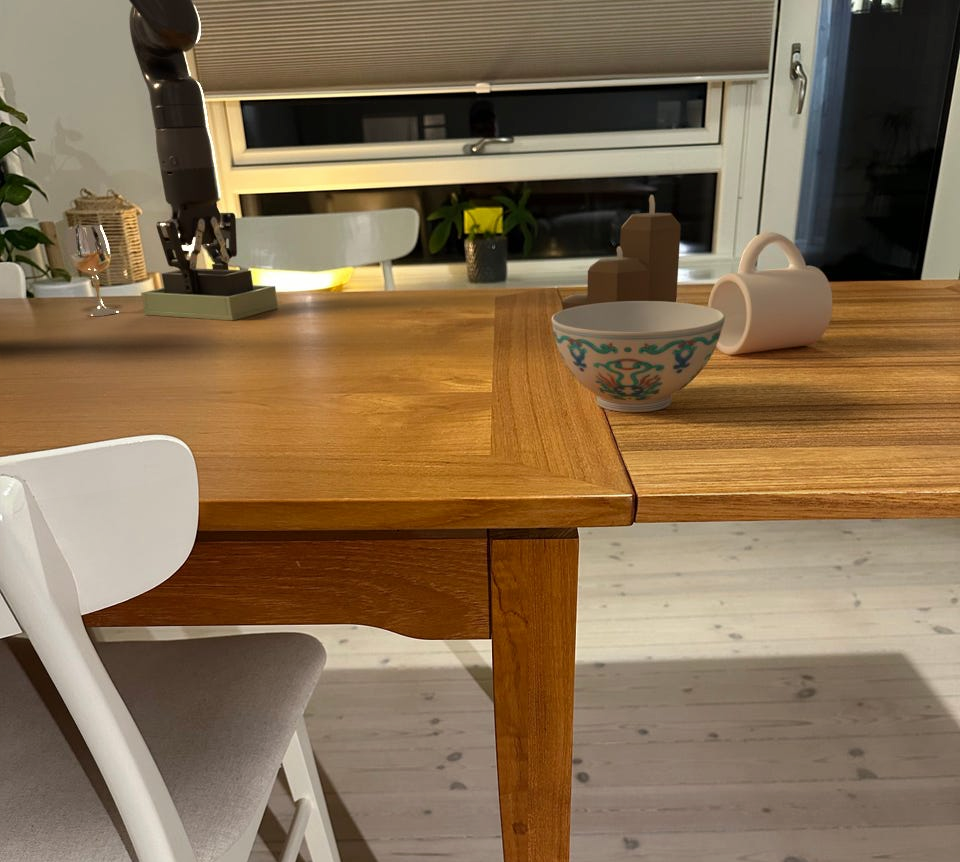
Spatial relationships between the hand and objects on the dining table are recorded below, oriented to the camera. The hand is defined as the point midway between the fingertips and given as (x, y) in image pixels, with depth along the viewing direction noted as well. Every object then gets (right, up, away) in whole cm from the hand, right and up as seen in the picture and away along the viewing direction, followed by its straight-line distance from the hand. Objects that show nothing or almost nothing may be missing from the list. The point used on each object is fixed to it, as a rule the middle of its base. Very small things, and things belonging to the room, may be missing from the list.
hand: (209, 293), depth 139 cm
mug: (+71, -19, -34) cm, 81 cm away
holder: (0, -2, +1) cm, 2 cm away
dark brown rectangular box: (0, -1, 0) cm, 0 cm away
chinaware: (+54, -29, -52) cm, 80 cm away
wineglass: (-17, -2, +3) cm, 17 cm away
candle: (+57, -13, -23) cm, 63 cm away
